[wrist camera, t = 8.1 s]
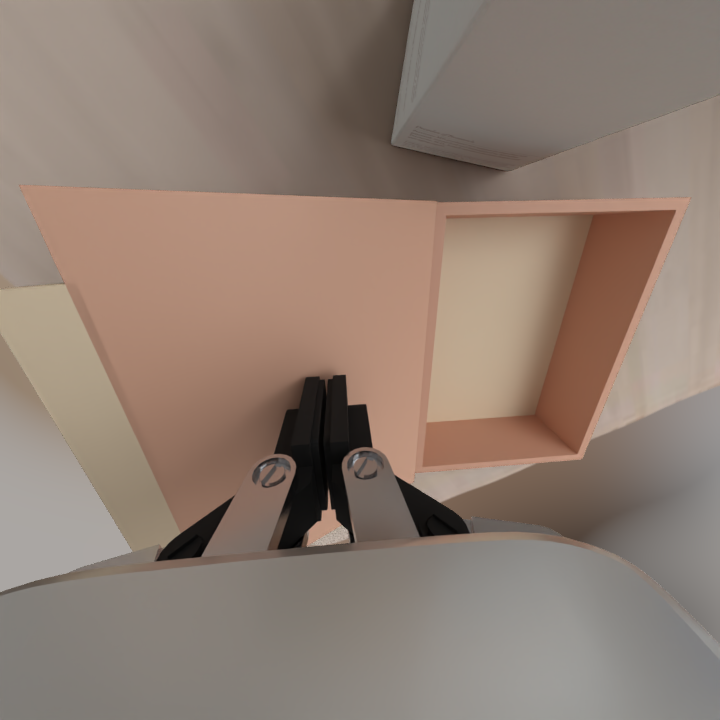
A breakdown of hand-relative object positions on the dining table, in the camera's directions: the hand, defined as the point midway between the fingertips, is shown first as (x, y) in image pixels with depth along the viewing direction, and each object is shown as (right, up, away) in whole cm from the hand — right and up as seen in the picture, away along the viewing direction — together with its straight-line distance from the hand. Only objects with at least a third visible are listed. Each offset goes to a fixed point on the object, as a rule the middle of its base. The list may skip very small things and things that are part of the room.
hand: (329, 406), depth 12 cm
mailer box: (+10, +4, +9) cm, 14 cm away
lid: (-1, 0, 0) cm, 1 cm away
